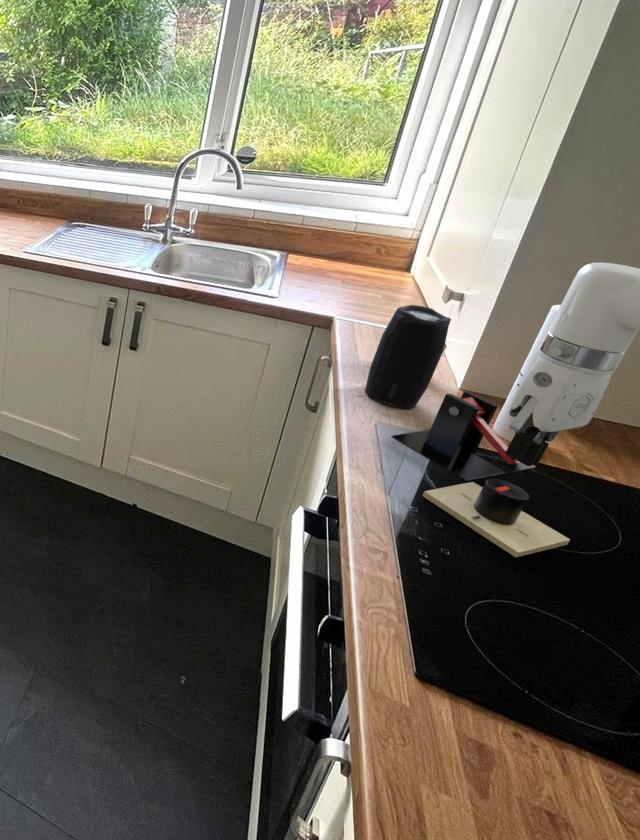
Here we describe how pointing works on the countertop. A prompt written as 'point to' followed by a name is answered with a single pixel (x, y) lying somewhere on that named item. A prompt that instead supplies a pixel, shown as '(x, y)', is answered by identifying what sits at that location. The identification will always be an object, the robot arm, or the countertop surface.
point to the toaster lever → (497, 442)
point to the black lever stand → (455, 438)
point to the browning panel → (510, 538)
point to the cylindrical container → (504, 418)
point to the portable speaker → (407, 356)
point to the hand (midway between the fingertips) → (520, 459)
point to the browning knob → (501, 501)
